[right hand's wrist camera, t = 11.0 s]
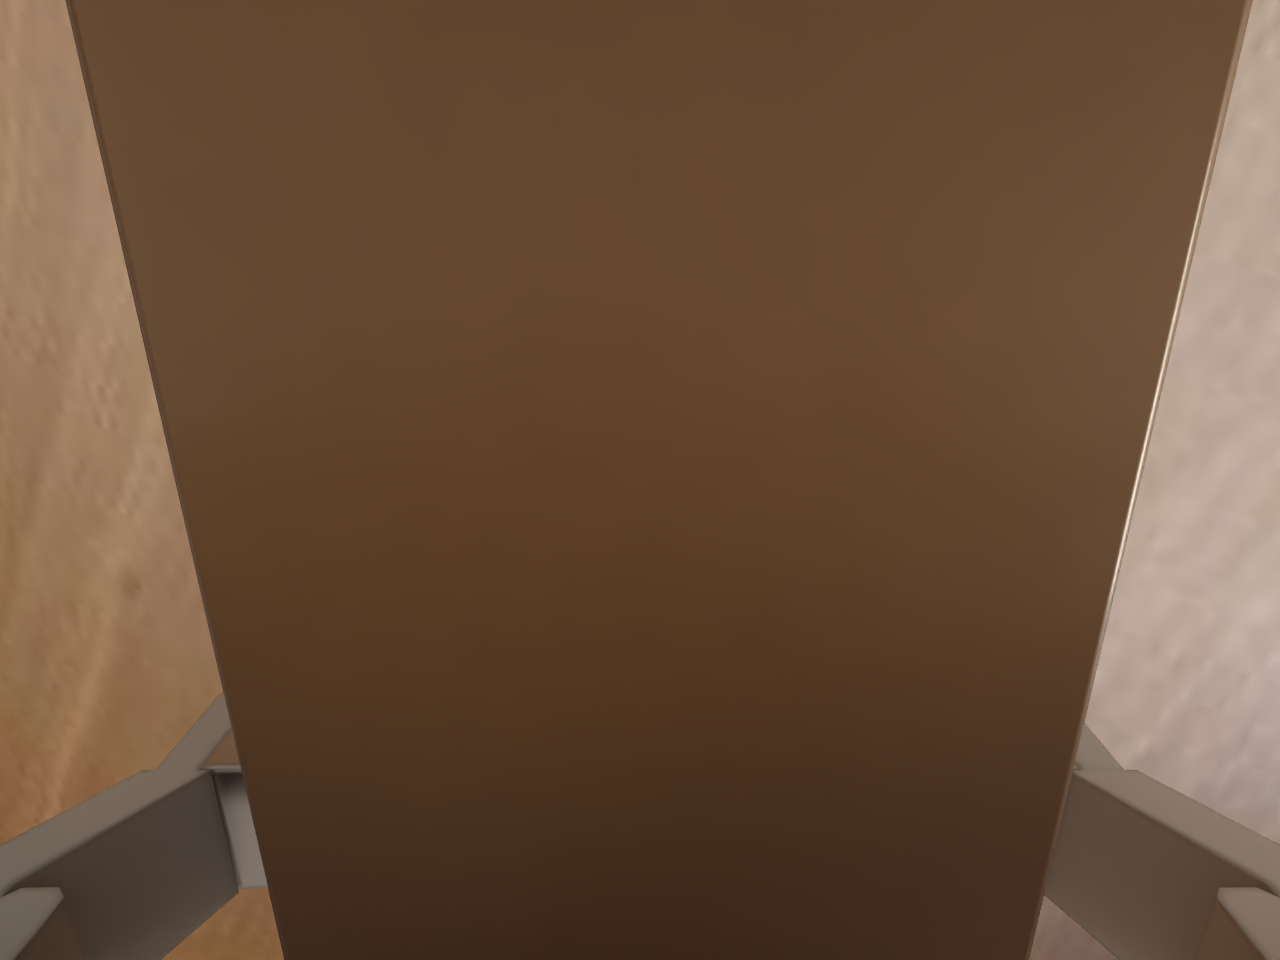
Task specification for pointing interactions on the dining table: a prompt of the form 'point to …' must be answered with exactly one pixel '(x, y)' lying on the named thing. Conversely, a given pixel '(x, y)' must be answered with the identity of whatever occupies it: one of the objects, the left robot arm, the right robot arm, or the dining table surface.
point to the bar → (657, 443)
